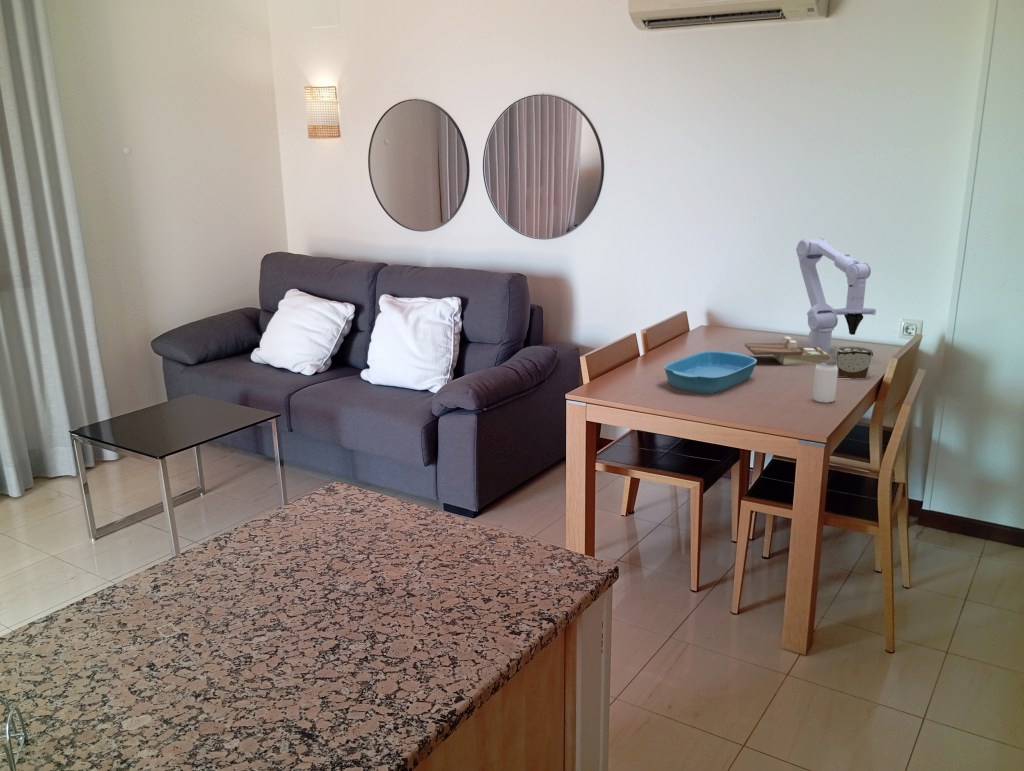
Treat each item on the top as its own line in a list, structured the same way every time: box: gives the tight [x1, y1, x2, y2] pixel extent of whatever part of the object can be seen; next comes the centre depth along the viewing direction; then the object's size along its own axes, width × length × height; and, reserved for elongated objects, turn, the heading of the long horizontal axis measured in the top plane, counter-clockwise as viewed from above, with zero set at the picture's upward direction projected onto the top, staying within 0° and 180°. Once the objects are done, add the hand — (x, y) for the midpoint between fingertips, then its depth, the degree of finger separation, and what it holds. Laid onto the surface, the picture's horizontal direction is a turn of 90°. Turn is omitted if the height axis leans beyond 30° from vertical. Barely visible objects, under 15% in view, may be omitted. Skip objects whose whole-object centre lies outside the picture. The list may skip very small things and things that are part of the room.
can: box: [812, 360, 838, 404], centre depth 249 cm, size 6×6×12 cm
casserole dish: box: [663, 350, 758, 394], centre depth 272 cm, size 37×22×7 cm, turn 137°
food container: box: [834, 345, 874, 380], centre depth 275 cm, size 12×6×10 cm, turn 84°
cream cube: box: [803, 348, 816, 355], centre depth 297 cm, size 4×4×4 cm
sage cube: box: [806, 351, 821, 355], centre depth 292 cm, size 4×4×4 cm
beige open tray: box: [772, 346, 830, 366], centre depth 295 cm, size 13×16×4 cm
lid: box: [744, 336, 802, 356], centre depth 294 cm, size 14×17×4 cm
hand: (852, 334), depth 292 cm, fingers closed
